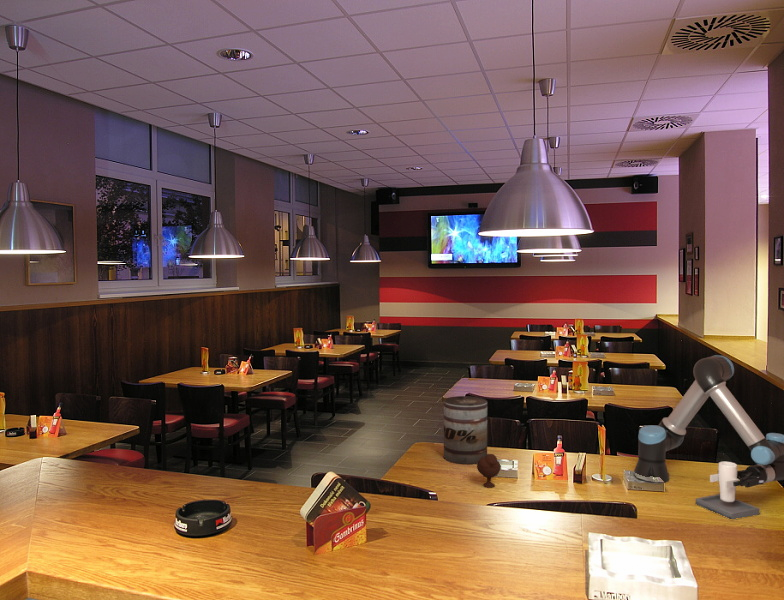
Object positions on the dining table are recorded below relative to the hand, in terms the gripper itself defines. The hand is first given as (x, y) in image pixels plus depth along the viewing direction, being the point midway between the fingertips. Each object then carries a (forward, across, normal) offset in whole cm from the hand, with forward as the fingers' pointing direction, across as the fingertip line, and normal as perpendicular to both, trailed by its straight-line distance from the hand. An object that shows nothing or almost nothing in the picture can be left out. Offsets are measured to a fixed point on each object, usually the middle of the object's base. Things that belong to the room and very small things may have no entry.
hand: (718, 481), depth 242 cm
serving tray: (-5, 0, -12) cm, 13 cm away
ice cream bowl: (+72, +59, -12) cm, 94 cm away
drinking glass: (-5, 0, -9) cm, 10 cm away
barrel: (+63, +99, -12) cm, 118 cm away
